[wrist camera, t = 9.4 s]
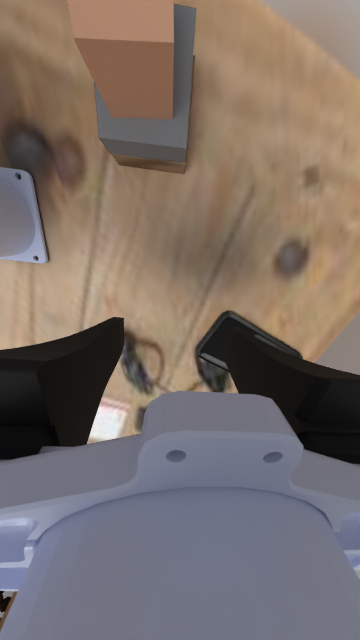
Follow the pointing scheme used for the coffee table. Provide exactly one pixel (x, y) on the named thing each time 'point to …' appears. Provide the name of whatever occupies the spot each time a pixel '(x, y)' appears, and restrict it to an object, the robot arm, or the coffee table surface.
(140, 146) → the charcoal slab
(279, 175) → the coffee table surface
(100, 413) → the coffee table surface
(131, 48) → the terracotta block
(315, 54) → the coffee table surface
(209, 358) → the phone
